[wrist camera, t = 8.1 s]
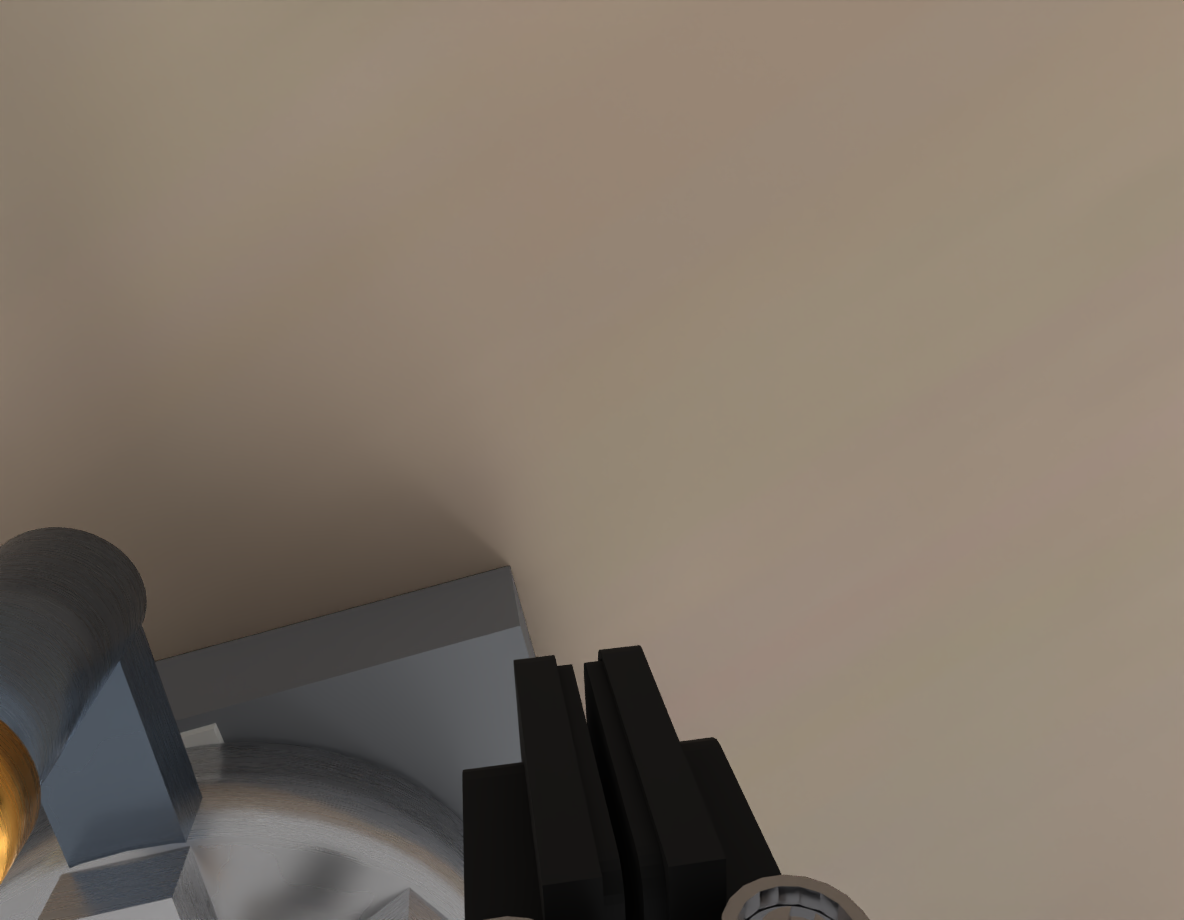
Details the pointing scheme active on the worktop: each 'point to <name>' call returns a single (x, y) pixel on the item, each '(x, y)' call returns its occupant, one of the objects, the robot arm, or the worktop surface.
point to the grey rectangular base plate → (372, 684)
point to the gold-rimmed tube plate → (178, 780)
